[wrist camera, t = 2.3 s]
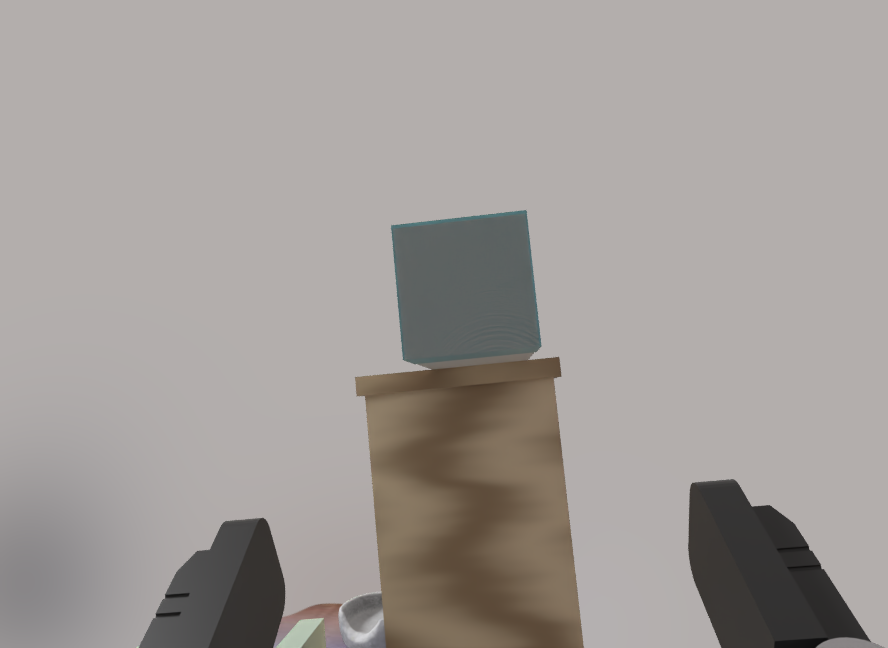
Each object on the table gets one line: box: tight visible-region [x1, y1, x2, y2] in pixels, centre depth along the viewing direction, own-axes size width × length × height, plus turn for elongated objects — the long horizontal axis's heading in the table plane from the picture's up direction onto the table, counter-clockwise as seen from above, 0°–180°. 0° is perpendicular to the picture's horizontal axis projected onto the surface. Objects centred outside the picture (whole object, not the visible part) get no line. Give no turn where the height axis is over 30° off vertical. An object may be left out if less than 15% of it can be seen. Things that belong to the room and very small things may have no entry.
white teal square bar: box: [391, 210, 541, 370], centre depth 33 cm, size 4×24×4 cm, turn 176°
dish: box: [339, 592, 386, 648], centre depth 93 cm, size 14×14×5 cm
